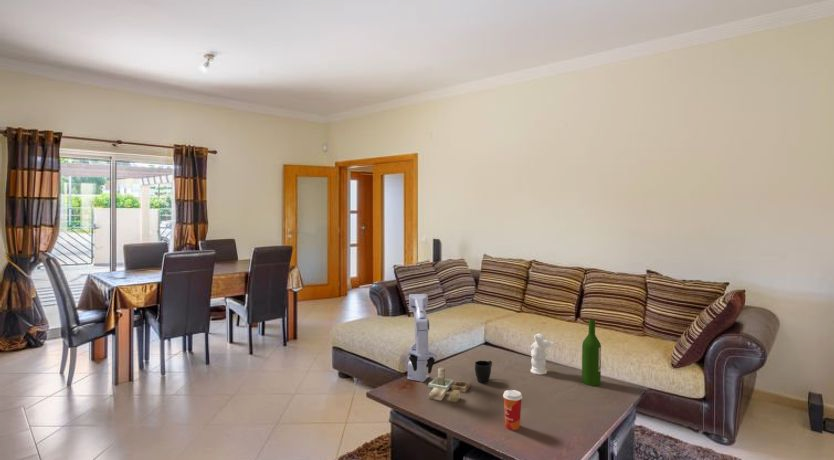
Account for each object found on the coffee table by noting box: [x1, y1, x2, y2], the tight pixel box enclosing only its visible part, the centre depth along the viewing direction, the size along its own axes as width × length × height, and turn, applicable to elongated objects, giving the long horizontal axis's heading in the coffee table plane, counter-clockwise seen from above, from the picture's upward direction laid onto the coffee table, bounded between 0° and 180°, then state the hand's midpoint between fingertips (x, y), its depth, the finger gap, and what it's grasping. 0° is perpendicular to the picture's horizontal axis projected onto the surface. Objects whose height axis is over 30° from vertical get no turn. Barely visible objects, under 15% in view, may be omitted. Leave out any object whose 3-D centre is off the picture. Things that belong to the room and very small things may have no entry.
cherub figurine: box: [529, 333, 555, 376], centre depth 232 cm, size 12×12×22 cm
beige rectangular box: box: [428, 388, 447, 401], centre depth 204 cm, size 6×8×2 cm
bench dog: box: [449, 390, 461, 403], centre depth 200 cm, size 3×5×4 cm, turn 155°
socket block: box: [451, 380, 471, 393], centre depth 213 cm, size 7×7×2 cm
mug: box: [474, 360, 493, 384], centre depth 222 cm, size 8×12×10 cm
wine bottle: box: [581, 318, 602, 387], centre depth 218 cm, size 9×9×32 cm
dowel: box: [437, 367, 446, 386], centre depth 216 cm, size 4×4×8 cm
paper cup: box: [502, 389, 523, 431], centre depth 174 cm, size 8×8×14 cm
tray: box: [427, 376, 455, 392], centre depth 216 cm, size 10×10×2 cm
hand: (422, 371), depth 207 cm, fingers open, 7 cm apart
